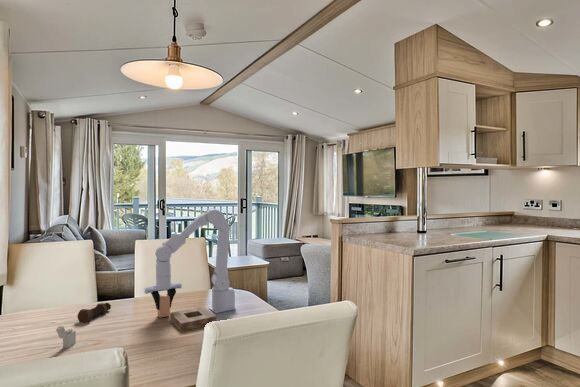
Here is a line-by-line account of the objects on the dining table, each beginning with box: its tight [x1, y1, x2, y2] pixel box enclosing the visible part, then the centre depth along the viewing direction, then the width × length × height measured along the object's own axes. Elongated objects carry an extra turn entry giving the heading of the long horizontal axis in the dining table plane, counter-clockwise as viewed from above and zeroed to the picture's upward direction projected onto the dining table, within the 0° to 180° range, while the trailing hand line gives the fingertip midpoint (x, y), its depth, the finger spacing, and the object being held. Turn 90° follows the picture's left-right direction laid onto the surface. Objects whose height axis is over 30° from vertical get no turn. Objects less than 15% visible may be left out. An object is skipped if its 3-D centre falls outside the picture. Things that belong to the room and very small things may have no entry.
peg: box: [156, 293, 171, 318], centre depth 153 cm, size 4×4×8 cm
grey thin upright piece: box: [55, 325, 77, 349], centre depth 123 cm, size 7×2×8 cm, turn 173°
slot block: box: [169, 306, 218, 332], centre depth 146 cm, size 14×14×3 cm
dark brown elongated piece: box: [76, 302, 112, 324], centre depth 153 cm, size 6×5×15 cm
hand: (163, 308), depth 153 cm, fingers closed on peg, 4 cm apart
